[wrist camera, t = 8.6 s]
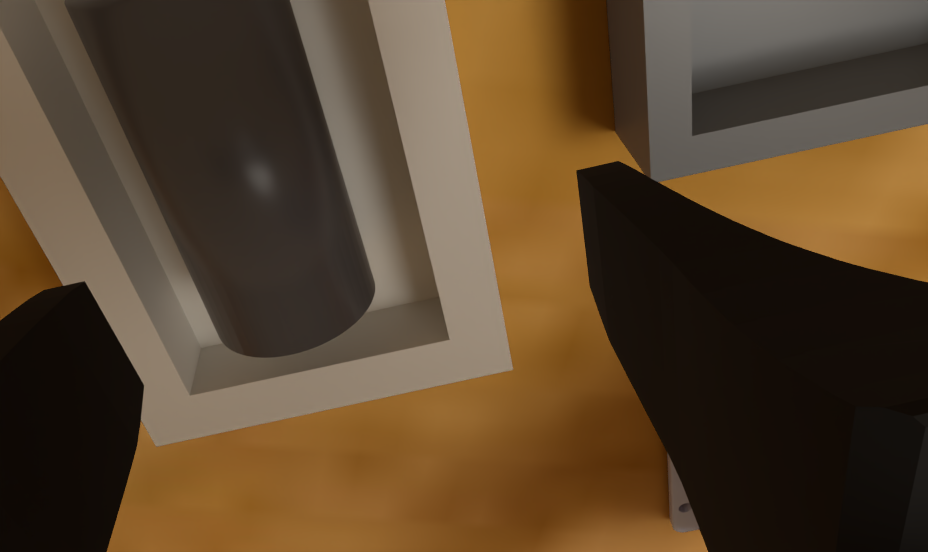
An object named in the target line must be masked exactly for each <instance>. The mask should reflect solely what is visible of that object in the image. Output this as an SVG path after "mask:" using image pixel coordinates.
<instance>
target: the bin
mask: <svg viewBox="0 0 928 552" xmlns="http://www.w3.org/2000/svg"><path fill="white" fill-rule="evenodd" d="M606 2H607V16H608V30H609V45H610V59H611V74H612V88H613V103H614V117H615V132H616V134H617V135H618V136H619V138H620V139H621V141H622V142H623V144H624V145H625V147H626V148H627V149H628V151H629V152H630V154H631V155H632V157H633V158H634V159H635V161H636V162H637V164H638V165H639V167H640V168H641V170H642V171H643V172H644V174H645V175H646V176H648V177H649V178H651V179H653V180H655V181H657V182H660V181H665V180H669V179H674V178H679V177H683V176H688V175H692V174H697V173H702V172H706V171H711V170H716V169H720V168H725V167H730V166H734V165H739V164H744V163H748V162H753V161H757V160H762V159H767V158H771V157H776V156H781V155H785V154H790V153H795V152H799V151H804V150H809V149H813V148H818V147H822V146H827V145H832V144H836V143H841V142H846V141H850V140H855V139H860V138H864V137H869V136H874V135H878V134H883V133H887V132H892V131H897V130H901V129H906V128H911V127H915V126H920V125H925V124H928V0H606Z"/></svg>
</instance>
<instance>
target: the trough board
mask: <svg viewBox="0 0 928 552" xmlns="http://www.w3.org/2000/svg"><path fill="white" fill-rule="evenodd" d="M64 2H65V0H0V177H1V178H2V180H3V182H4V184H5V185H6V187H7V189H8V191H9V192H10V194H11V196H12V197H13V199H14V201H15V203H16V204H17V206H18V208H19V210H20V211H21V213H22V215H23V217H24V218H25V220H26V222H27V223H28V225H29V227H30V229H31V230H32V232H33V234H34V236H35V237H36V239H37V241H38V242H39V244H40V246H41V248H42V249H43V251H44V253H45V255H46V256H47V258H48V260H49V262H50V263H51V265H52V267H53V268H54V270H55V272H56V274H57V275H58V277H59V279H60V281H61V282H62V284H63V286H65V285H69V284H74V283H78V282H83V281H85V282H86V284H87V286H88V288H89V289H90V291H91V293H92V295H93V296H94V298H95V300H96V302H97V303H98V305H99V307H100V309H101V310H102V312H103V314H104V316H105V317H106V319H107V321H108V323H109V324H110V326H111V328H112V330H113V331H114V333H115V335H116V337H117V338H118V340H119V342H120V344H121V345H122V347H123V349H124V351H125V353H126V354H127V356H128V358H129V360H130V361H131V363H132V365H133V367H134V368H135V370H136V372H137V374H138V375H139V377H140V379H141V381H142V382H143V384H144V393H143V403H142V413H141V421H142V423H143V424H144V426H145V428H146V429H147V431H148V433H149V435H150V436H151V438H152V440H153V442H154V443H155V445H156V447H158V446H162V445H167V444H172V443H176V442H181V441H186V440H190V439H195V438H199V437H204V436H209V435H213V434H218V433H223V432H227V431H232V430H236V429H241V428H246V427H250V426H255V425H260V424H264V423H269V422H274V421H278V420H283V419H287V418H292V417H297V416H301V415H306V414H311V413H315V412H320V411H324V410H329V409H334V408H338V407H343V406H348V405H352V404H357V403H362V402H366V401H371V400H375V399H380V398H385V397H389V396H394V395H399V394H403V393H408V392H413V391H417V390H422V389H426V388H431V387H436V386H440V385H445V384H450V383H454V382H459V381H463V380H468V379H473V378H477V377H482V376H487V375H491V374H496V373H501V372H505V371H510V370H513V366H512V361H511V355H510V350H509V345H508V339H507V334H506V329H505V323H504V318H503V312H502V307H501V302H500V296H499V291H498V285H497V280H496V275H495V269H494V264H493V258H492V253H491V248H490V242H489V237H488V231H487V226H486V221H485V215H484V210H483V204H482V199H481V194H480V188H479V183H478V178H477V172H476V167H475V161H474V156H473V151H472V145H471V140H470V134H469V129H468V124H467V118H466V113H465V107H464V102H463V97H462V91H461V86H460V80H459V75H458V70H457V64H456V59H455V53H454V48H453V43H452V37H451V32H450V27H449V21H448V16H447V10H446V5H445V0H290V2H291V6H292V9H293V12H294V16H295V19H296V22H297V26H298V29H299V32H300V36H301V39H302V42H303V46H304V49H305V52H306V56H307V59H308V62H309V66H310V69H311V72H312V75H313V79H314V82H315V85H316V89H317V92H318V95H319V99H320V102H321V105H322V109H323V112H324V115H325V119H326V122H327V125H328V129H329V132H330V135H331V139H332V142H333V145H334V149H335V152H336V155H337V158H338V162H339V165H340V168H341V172H342V175H343V178H344V182H345V185H346V188H347V192H348V195H349V198H350V202H351V205H352V208H353V212H354V215H355V218H356V222H357V225H358V228H359V231H360V235H361V238H362V241H363V245H364V248H365V251H366V255H367V258H368V261H369V265H370V268H371V271H372V275H373V278H374V281H375V294H374V298H373V300H372V303H371V304H370V306H369V308H368V309H367V311H366V312H365V313H364V315H363V316H362V317H361V318H360V319H359V320H358V321H357V322H356V323H355V324H354V325H353V326H351V327H350V328H349V329H348V330H346V331H345V332H343V333H342V334H341V335H339V336H337V337H336V338H334V339H332V340H330V341H328V342H326V343H324V344H322V345H320V346H318V347H315V348H312V349H310V350H307V351H303V352H300V353H297V354H292V355H288V356H281V357H271V358H259V357H250V356H245V355H242V354H238V353H236V352H234V351H232V350H230V349H229V348H227V347H226V346H225V345H224V344H223V343H222V341H221V340H220V338H219V336H218V334H217V332H216V329H215V327H214V325H213V323H212V321H211V319H210V316H209V314H208V312H207V310H206V308H205V306H204V304H203V301H202V299H201V297H200V295H199V293H198V291H197V288H196V286H195V284H194V282H193V280H192V278H191V276H190V273H189V271H188V269H187V267H186V265H185V263H184V260H183V258H182V256H181V254H180V252H179V250H178V248H177V245H176V243H175V241H174V239H173V237H172V235H171V233H170V230H169V228H168V226H167V224H166V222H165V220H164V217H163V215H162V213H161V211H160V209H159V207H158V205H157V202H156V200H155V198H154V196H153V194H152V192H151V189H150V187H149V185H148V183H147V181H146V179H145V177H144V174H143V172H142V170H141V168H140V166H139V164H138V161H137V159H136V157H135V155H134V153H133V151H132V149H131V146H130V144H129V142H128V140H127V138H126V136H125V133H124V131H123V129H122V127H121V125H120V123H119V121H118V118H117V116H116V114H115V112H114V110H113V108H112V105H111V103H110V101H109V99H108V97H107V95H106V93H105V90H104V88H103V86H102V84H101V82H100V80H99V78H98V75H97V73H96V71H95V69H94V67H93V65H92V62H91V60H90V58H89V56H88V54H87V52H86V50H85V47H84V45H83V43H82V41H81V39H80V37H79V34H78V32H77V30H76V28H75V26H74V24H73V22H72V19H71V17H70V15H69V13H68V11H67V9H66V6H65V4H64Z"/></svg>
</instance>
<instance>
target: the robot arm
mask: <svg viewBox="0 0 928 552" xmlns="http://www.w3.org/2000/svg"><path fill="white" fill-rule="evenodd" d="M577 180H578V189H579V197H580V206H581V214H582V223H583V231H584V240H585V249H586V257H587V266H588V274H589V283H590V288H591V291H592V293H593V296H594V299H595V302H596V305H597V308H598V311H599V314H600V316H601V319H602V322H603V325H604V327H605V330H606V333H607V336H608V338H609V341H610V343H611V345H612V347H613V349H614V351H615V353H616V355H617V357H618V358H619V360H620V362H621V364H622V366H623V368H624V370H625V372H626V374H627V376H628V378H629V380H630V382H631V384H632V386H633V388H634V389H635V391H636V393H637V395H638V397H639V399H640V401H641V403H642V405H643V407H644V409H645V411H646V412H647V414H648V416H649V418H650V420H651V422H652V424H653V426H654V428H655V430H656V432H657V434H658V435H659V437H660V439H661V441H662V443H663V445H664V447H665V449H666V451H667V458H668V484H669V511H670V522H671V524H672V527H673V529H674V530H675V531H677V532H688V531H693V530H697V529H700V531H701V534H702V536H703V539H704V542H705V544H706V547H707V550H708V552H928V282H923V281H918V280H914V279H909V278H905V277H901V276H897V275H893V274H889V273H885V272H880V271H876V270H872V269H868V268H864V267H861V266H857V265H853V264H850V263H846V262H843V261H839V260H836V259H833V258H830V257H827V256H824V255H821V254H818V253H815V252H812V251H809V250H806V249H803V248H800V247H797V246H794V245H791V244H788V243H786V242H783V241H780V240H778V239H775V238H772V237H770V236H767V235H765V234H763V233H760V232H758V231H756V230H753V229H751V228H749V227H746V226H744V225H742V224H739V223H737V222H735V221H733V220H730V219H728V218H726V217H724V216H722V215H720V214H718V213H716V212H714V211H712V210H710V209H707V208H705V207H703V206H701V205H700V204H698V203H696V202H694V201H692V200H690V199H688V198H686V197H684V196H682V195H680V194H679V193H677V192H675V191H673V190H671V189H669V188H667V187H666V186H664V185H662V184H660V183H658V182H657V181H655V180H653V179H651V178H649V177H648V176H646V175H644V174H642V173H640V172H639V171H637V170H635V169H633V168H631V167H629V166H627V165H626V164H623V163H621V162H619V161H617V162H612V163H608V164H603V165H599V166H594V167H590V168H585V169H581V170H577ZM143 393H144V384H143V382H142V381H141V379H140V377H139V375H138V374H137V372H136V370H135V368H134V367H133V365H132V363H131V361H130V360H129V358H128V356H127V354H126V353H125V351H124V349H123V347H122V345H121V344H120V342H119V340H118V338H117V337H116V335H115V333H114V331H113V330H112V328H111V326H110V324H109V323H108V321H107V319H106V317H105V316H104V314H103V312H102V310H101V309H100V307H99V305H98V303H97V302H96V300H95V298H94V296H93V295H92V293H91V291H90V289H89V288H88V286H87V284H86V282H85V281H83V282H78V283H74V284H69V285H65V286H61V287H56V288H52V289H47V290H43V291H42V292H40V293H38V294H37V295H35V296H34V297H32V298H30V299H29V300H27V301H26V302H25V303H23V304H22V305H20V306H19V307H18V308H16V309H15V310H14V311H12V312H11V313H10V314H8V315H7V316H6V317H4V318H3V319H2V320H1V321H0V552H107V548H108V545H109V542H110V538H111V535H112V531H113V528H114V525H115V521H116V518H117V514H118V511H119V508H120V504H121V501H122V498H123V494H124V491H125V487H126V484H127V480H128V476H129V473H130V469H131V466H132V462H133V459H134V455H135V451H136V447H137V442H138V435H139V428H140V421H141V413H142V403H143Z"/></svg>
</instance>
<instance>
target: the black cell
mask: <svg viewBox="0 0 928 552" xmlns="http://www.w3.org/2000/svg"><path fill="white" fill-rule="evenodd" d="M64 4H65V6H66V9H67V11H68V13H69V15H70V17H71V19H72V22H73V24H74V26H75V28H76V30H77V32H78V34H79V37H80V39H81V41H82V43H83V45H84V47H85V50H86V52H87V54H88V56H89V58H90V60H91V62H92V65H93V67H94V69H95V71H96V73H97V75H98V78H99V80H100V82H101V84H102V86H103V88H104V90H105V93H106V95H107V97H108V99H109V101H110V103H111V105H112V108H113V110H114V112H115V114H116V116H117V118H118V121H119V123H120V125H121V127H122V129H123V131H124V133H125V136H126V138H127V140H128V142H129V144H130V146H131V149H132V151H133V153H134V155H135V157H136V159H137V161H138V164H139V166H140V168H141V170H142V172H143V174H144V177H145V179H146V181H147V183H148V185H149V187H150V189H151V192H152V194H153V196H154V198H155V200H156V202H157V205H158V207H159V209H160V211H161V213H162V215H163V217H164V220H165V222H166V224H167V226H168V228H169V230H170V233H171V235H172V237H173V239H174V241H175V243H176V245H177V248H178V250H179V252H180V254H181V256H182V258H183V260H184V263H185V265H186V267H187V269H188V271H189V273H190V276H191V278H192V280H193V282H194V284H195V286H196V288H197V291H198V293H199V295H200V297H201V299H202V301H203V304H204V306H205V308H206V310H207V312H208V314H209V316H210V319H211V321H212V323H213V325H214V327H215V329H216V332H217V334H218V336H219V338H220V340H221V341H222V343H223V344H224V345H225V346H226V347H227V348H229V349H230V350H232V351H234V352H236V353H238V354H242V355H245V356H250V357H259V358H271V357H281V356H288V355H292V354H297V353H300V352H303V351H307V350H310V349H312V348H315V347H318V346H320V345H322V344H324V343H326V342H328V341H330V340H332V339H334V338H336V337H337V336H339V335H341V334H342V333H343V332H345V331H346V330H348V329H349V328H350V327H351V326H353V325H354V324H355V323H356V322H357V321H358V320H359V319H360V318H361V317H362V316H363V315H364V313H365V312H366V311H367V309H368V308H369V306H370V304H371V303H372V300H373V298H374V294H375V281H374V278H373V275H372V271H371V268H370V265H369V261H368V258H367V255H366V251H365V248H364V245H363V241H362V238H361V235H360V231H359V228H358V225H357V222H356V218H355V215H354V212H353V208H352V205H351V202H350V198H349V195H348V192H347V188H346V185H345V182H344V178H343V175H342V172H341V168H340V165H339V162H338V158H337V155H336V152H335V149H334V145H333V142H332V139H331V135H330V132H329V129H328V125H327V122H326V119H325V115H324V112H323V109H322V105H321V102H320V99H319V95H318V92H317V89H316V85H315V82H314V79H313V75H312V72H311V69H310V66H309V62H308V59H307V56H306V52H305V49H304V46H303V42H302V39H301V36H300V32H299V29H298V26H297V22H296V19H295V16H294V12H293V9H292V6H291V2H290V0H65V2H64Z"/></svg>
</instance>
